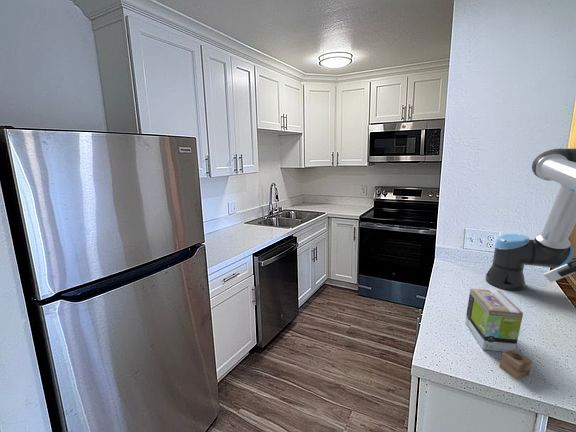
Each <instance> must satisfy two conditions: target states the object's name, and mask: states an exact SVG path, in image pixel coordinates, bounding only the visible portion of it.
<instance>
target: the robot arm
mask: <svg viewBox="0 0 576 432" xmlns="http://www.w3.org/2000/svg"><path fill="white" fill-rule="evenodd" d="M531 171H532V173H533V174H534V176H536V177H537V178H539V179H541V180H543V181H547V182H548V181H549V182H551V181H552V182H555V183H557V184H560V187H559V190H558V193H557V195H556V197H555V200H554V202H553V204H552V207H551V209H550V212H549V214H548V216H547V220H546V221H545V222H546V223H545V224H544V227H543V230H542V232H539V233H537V234H536V235H535V238H534V239H530V238H529V237H528V236H527V235H524V234H518V233H517V234H516V233H506V234H502V235H500V236H498V237H497V238H496V241H495V245H494V253H493V259H492V264H491V266H490V268H489V269H488V271H487V272H486V274H485V281H486V282H487V283H488V284H489V285H491V286H493V287H496V288H499V289H503V290H506V291H507V290H508V291H515V292H516V291H523V290H524V289H525V287H526V281H525V275H524V267H525V266H534V267H542V268H543V267H544V268H550V270H549V271H546V272H544V273H543V275H544V277H545V278H546V279H547V280H548V281H549V282H550V283H554V282H557V281H559V280H561V279H563V278H566V277H569V276H570V275H574V274H576V256H575V257H574V253H575V251H574V247H573V245H572V243H571V241H570V240H569V239H570V236H571V234H572V231H573V230H574V227H575V225H576V148H553V149H549V150H546V151H544V152H542V153H540V154H538V155H537V156H536V157H535V158H534V159H533V161H532V163H531ZM551 268H552V269H551Z"/></svg>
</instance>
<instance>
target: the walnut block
mask: <svg viewBox="0 0 576 432" xmlns="http://www.w3.org/2000/svg"><path fill="white" fill-rule="evenodd" d="M500 357H501V358H500V363H499V368H501V370H503V371H505V372H506V373H507V374H509V376H511V377H513V378H514V379H515V380H519V379H522V378H524V377H527V376H529V375H530V372H531V367H532V364H533V363H532V361H533V360H531V359H530V358H529V357H527V356H525V355H524V354H522V353H521V352H519V351H517V350H516V349H514V350H511V351H508V352H502V353H501V356H500Z"/></svg>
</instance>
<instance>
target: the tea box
mask: <svg viewBox="0 0 576 432" xmlns="http://www.w3.org/2000/svg"><path fill="white" fill-rule="evenodd" d="M467 302H468V303H467V309H466V314H465V320H464V321H465V322H464V323H465V325H466V326H467V328H468V329H469V331H470V332H471V334H472V335H473V337H474V338H475V341H477V343H478V344H479V346H480V347H481V349H482V350H486V351H494V352H502V353H504V352H508V351H511V350H514V349H515V350H516V348H517V345H518V340H519V335H520V330H521V326H522V321H523V317H524V312H523V311H522V310H521V309H520V308H519V307H518V306H517V305H515V304H514V303H513V302H512V301H511V300H510V298H508V297H507V296H506V295H505V294H504V293H502V291H501V290H499V289H498V290H497V289H496V290H495V289H485V288H483V289H482V288H481V289H480V288H470V289H469V295H468V301H467Z"/></svg>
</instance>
